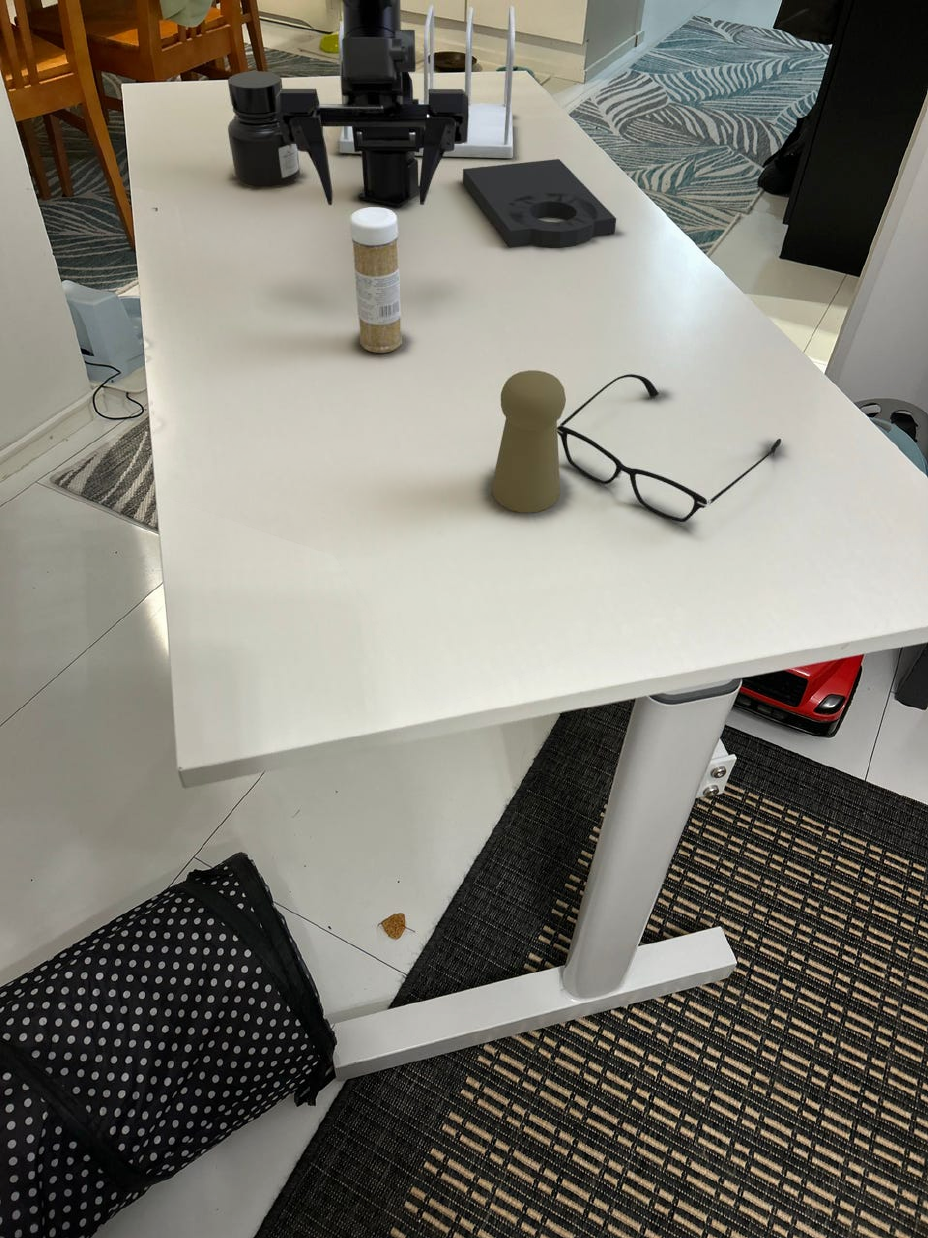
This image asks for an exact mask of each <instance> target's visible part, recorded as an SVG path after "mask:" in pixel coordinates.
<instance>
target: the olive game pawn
mask: <svg viewBox="0 0 928 1238" xmlns="http://www.w3.org/2000/svg"><path fill="white" fill-rule="evenodd" d="M566 402H567V397H566V392H565V387H564V385H563V384H562V382H561V381H560V380H559V378H557V377H556V376H555V375H553V374H552V373H549V372H546V371H541V370H534V369H533V370H531V369H530V370H529V369H528V370H524V371H523V370H522V371H519V372H517V373H515V374H512V375H511V376H510V377H508V379H507V380H506V381H505V382H504V384H503V387H502V388H501V391H500V407H501V411H502V414H503V415H504V418H505V421H504V426H503V429H502V434H501V438H500V439H501V440H500V445H499V448H498V454H497V459H496V463H495V468H494V474H493V478H492V483H491V495H492V497H493V498H494V500H495V502H496V503H498V504H499V505H500V506H501V507H503V508H505V509H508V510H509V511H512V512H517V513H522V514H523V513H525V514H527V513H528V514H534V513H538V512H543V511H546V510H548V509H550V508H552V507H553V506H554V505H555V504H556V503H557V502H558V501H559V498H560V497H561V481H560V478H561V477H560V459H559V457H560V456H559V437H558V436H559V434H558V432H557V427H558V420H559V419H560V418H561V416H562V415H563V412H564V410H565V407H566Z"/></svg>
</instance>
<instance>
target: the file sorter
mask: <svg viewBox="0 0 928 1238" xmlns="http://www.w3.org/2000/svg"><path fill="white" fill-rule="evenodd" d="M434 9H435V8H434V5H432V4H431V5H429V7H428V11H427V15H426V20H425V24H424V32H423V33H424V34H423V100H419V104H428V89H435V87H434V85H435V84H434V83H435V82H434V81H435V79H434V78H435V76H434V75H435V74H434V72H435V69H434V68H435V64H434V63H435V10H434ZM467 14H468V15H467V20H466V30H465V52H464V53H465V54H464V55H465V58H464V59H465V60H464V92H465V93H466V94H467V95H468V103H469V118H468V131H467V141H466V142H464V143H462V144H455V146H454V150H453V151H451V152H445V153H444V154H443V156H442V157H454V158H455V157H457V158H458V157H460V158H489V159H491V158H493V159H512V158H513V157H514V156H513V155H514V154H513V153H514V141H513V139H514V138H513V137H514V136H513V135H514V133H513V105H512V88H513V76H514V75H513V73H514V59H515V58H514V57H515V44H516V43H515V42H516V26H515V25H516V23H515V7H514V5H510V6H509V9H508V24H507V41H506V57H505V72H504V73H505V75H504V92H503V103H487V102H486V103H482V102H471V98H472V97H471V94H472V65H473V64H472V63H473V62H472V61H473V29H474V28H473V27H474V7H473V6H469V7H468V12H467ZM343 38H344V23H343V19H342V21H341V23H340V25H339V30H338V61H339V63H338V64H339V76H340V77H339V79H340V80H339V81H340V93H341V104H345V96H343V94H342V82H341V64H342V61H343V54H342V39H343ZM360 134H362V133H361V132H360ZM410 134H415V132H413V133H410ZM338 148H339V153H341V154H361V151H359V152H355V151H354V141H353V132H352V127H342V129H341V133H340V136H339V139H338ZM415 156H420V157H421V156H422V157H423V148H421V149H420V152H415Z"/></svg>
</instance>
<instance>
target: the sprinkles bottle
mask: <svg viewBox="0 0 928 1238" xmlns="http://www.w3.org/2000/svg"><path fill="white" fill-rule="evenodd" d="M398 223H399V222H398V215H397V214H396V212H394V211H393V210H391V209H388V208H386V207H379V206H371V207H369V206H368V207H363V208H360V209H357V210H355V211H354V212H352V214H351V215H350V216H349V233H350V237H351V242H352V243H353V244H352V246H353V258H354V279H355V291H356V304H357V314H358V321H359V332H360V333H359V335H360V337H359V343H360V345H361V346H362V348H363V349H365V350H366V351H368V352H371V353H377V354H385V353H390V352H393V351H395V350H397V349H399V348H400V347H401V345H402V343H403V335H402V331H401V330H402V329H401V327H402V325H401V324H402V323H401V316H402V315H401V313H402V311H401V288H400V285H401V284H400V267H399V258H398V255H399V254H398V236H399V224H398Z"/></svg>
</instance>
